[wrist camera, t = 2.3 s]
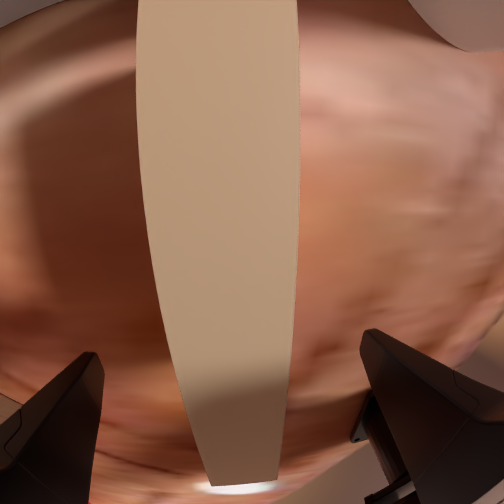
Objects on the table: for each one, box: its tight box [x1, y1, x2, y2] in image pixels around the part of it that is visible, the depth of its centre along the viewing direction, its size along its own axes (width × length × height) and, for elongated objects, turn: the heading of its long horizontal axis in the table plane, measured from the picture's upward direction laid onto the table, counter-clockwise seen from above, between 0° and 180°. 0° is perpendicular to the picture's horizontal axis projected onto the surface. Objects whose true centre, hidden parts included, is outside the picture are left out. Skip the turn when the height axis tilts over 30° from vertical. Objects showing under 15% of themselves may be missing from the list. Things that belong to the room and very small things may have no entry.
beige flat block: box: [136, 0, 300, 486], centre depth 8 cm, size 13×2×7 cm, turn 0°
